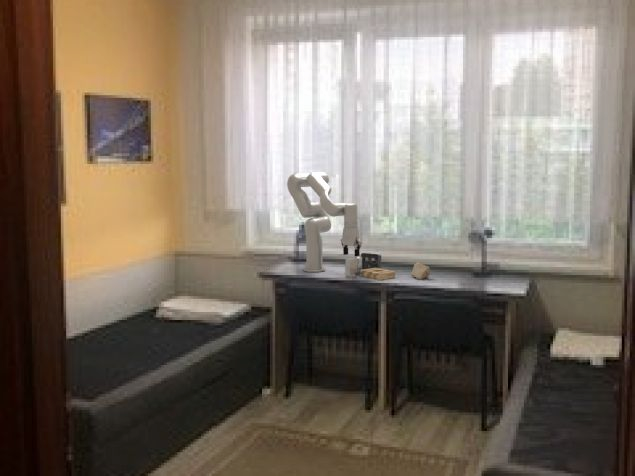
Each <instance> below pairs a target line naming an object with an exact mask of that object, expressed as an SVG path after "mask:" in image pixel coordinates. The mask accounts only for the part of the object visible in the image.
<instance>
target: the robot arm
mask: <svg viewBox="0 0 635 476" xmlns="http://www.w3.org/2000/svg"><path fill="white" fill-rule="evenodd" d="M329 181H330V177H329V175H328V174H327V173H326V172H325V171H313V172H297V173H296V172H295V173H293V174H290V176H289V177H288V178H287V182H286V183H287V184H286V186H287V190H288V192H289V194H290V196H291V198H292V199H293V202H294V203H295V206H296V208H297V210H298V212H299V214H300V215H301V217H302V218H305V219H307V220H306V221H305V222H304V231H305V242H306V243H305V244H306V247H305V249H306V258H305V259H306V262H304V263H303V266H305V267H304V268H303V271H304V272H306V273H307V272H308V273H321V272H324V271H326V268H325V267H323V239H322V236H321V234H322V233H327V232H329V231H330V230H331V229H332V221H331V219H330V217H333V218H334V217H342V216H343V229H342V235H341V236H342V237H341V239H340V243H341V246H342V248H343V249H342V250H343V251H342V252H343V256H345V255H346V256H347V255H349V247H354V257H361V254H360V252H361V251H360V249H361V247H362V244H363V241H362V240H360V234H359V228H358V226H359V225H358V204H357V203H354V202H353V203H352V202H351V203H349V202H333V201H332V200H331V199H330V198H329V196H330V194H331V193H332V187H331V186H330V185H329ZM303 188H311V190H312V191H314V193H316V195H317V196H318V197H319V201H316V200H313V201H312V200H310V197H309V196H308V194H307V192H306V191H304V189H303ZM348 246H349V247H348Z"/></svg>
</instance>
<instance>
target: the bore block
mask: <svg viewBox="0 0 635 476" xmlns="http://www.w3.org/2000/svg"><path fill="white" fill-rule="evenodd" d="M359 276H360V277H364V278H369V279H374V280H376V279H378V281H384V280H390V279H395V278H396V271H394V270H389V269H385V268H370V269H364V270H361V272H360V275H359ZM389 278H390V279H389ZM383 279H384V280H383Z"/></svg>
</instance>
